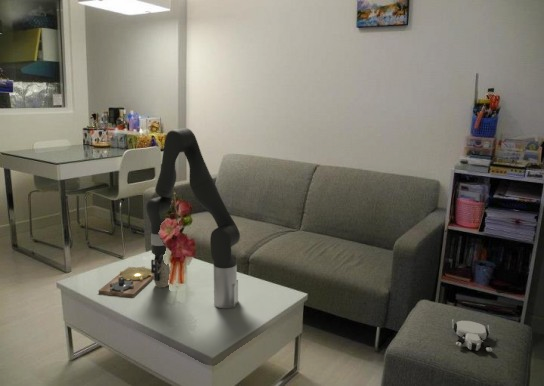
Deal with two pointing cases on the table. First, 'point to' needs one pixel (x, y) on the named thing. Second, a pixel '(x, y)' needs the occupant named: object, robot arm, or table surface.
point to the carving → (163, 276)
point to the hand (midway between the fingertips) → (161, 276)
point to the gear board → (128, 282)
